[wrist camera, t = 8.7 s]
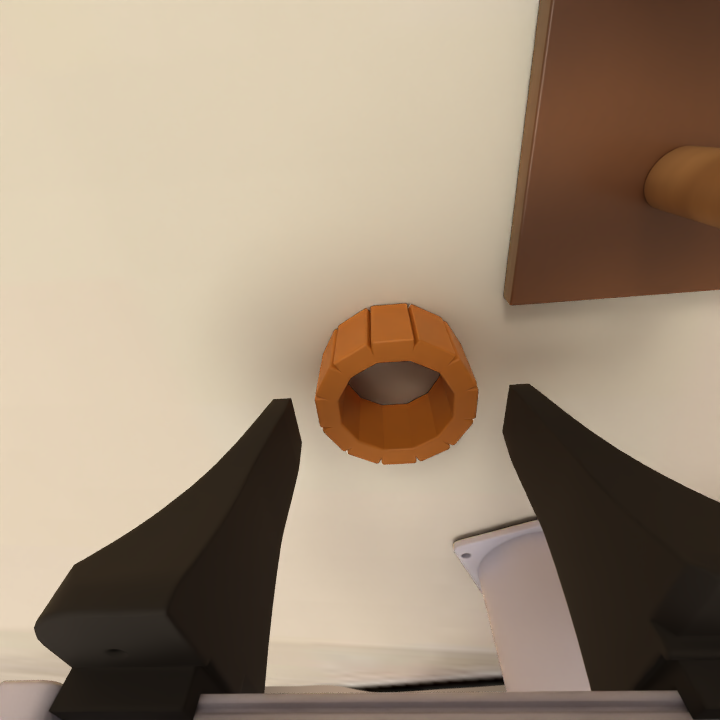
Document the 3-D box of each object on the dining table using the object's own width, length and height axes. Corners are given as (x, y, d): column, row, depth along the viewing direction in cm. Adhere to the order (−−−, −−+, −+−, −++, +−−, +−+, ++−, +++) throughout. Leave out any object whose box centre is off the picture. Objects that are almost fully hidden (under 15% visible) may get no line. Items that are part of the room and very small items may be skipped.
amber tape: (465, 298, 13) (484, 333, 11) (457, 414, 16) (472, 461, 14) (313, 309, 13) (303, 346, 11) (333, 421, 16) (328, 468, 14)
